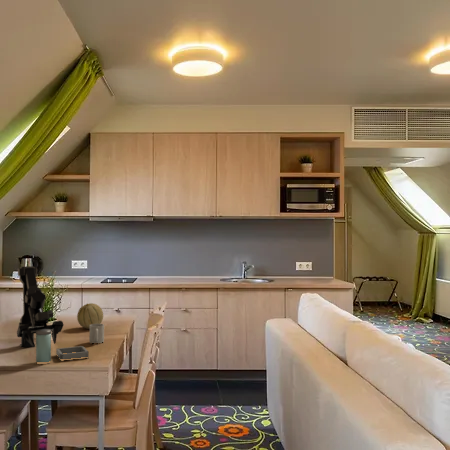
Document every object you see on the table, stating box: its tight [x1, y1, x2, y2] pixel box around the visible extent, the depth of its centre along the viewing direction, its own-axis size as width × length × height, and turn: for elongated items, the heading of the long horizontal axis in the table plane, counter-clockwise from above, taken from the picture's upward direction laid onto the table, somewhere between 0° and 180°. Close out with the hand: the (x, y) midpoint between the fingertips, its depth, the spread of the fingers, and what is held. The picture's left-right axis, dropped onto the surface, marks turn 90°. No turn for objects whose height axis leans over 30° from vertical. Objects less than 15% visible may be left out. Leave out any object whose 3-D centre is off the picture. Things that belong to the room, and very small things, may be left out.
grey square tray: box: [55, 345, 90, 359], centre depth 220 cm, size 12×12×3 cm
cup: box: [88, 323, 105, 344], centre depth 247 cm, size 7×10×9 cm
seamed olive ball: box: [76, 302, 104, 330], centre depth 283 cm, size 15×15×15 cm
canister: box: [35, 329, 52, 363], centre depth 210 cm, size 6×6×14 cm
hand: (44, 344), depth 209 cm, fingers open, 9 cm apart
